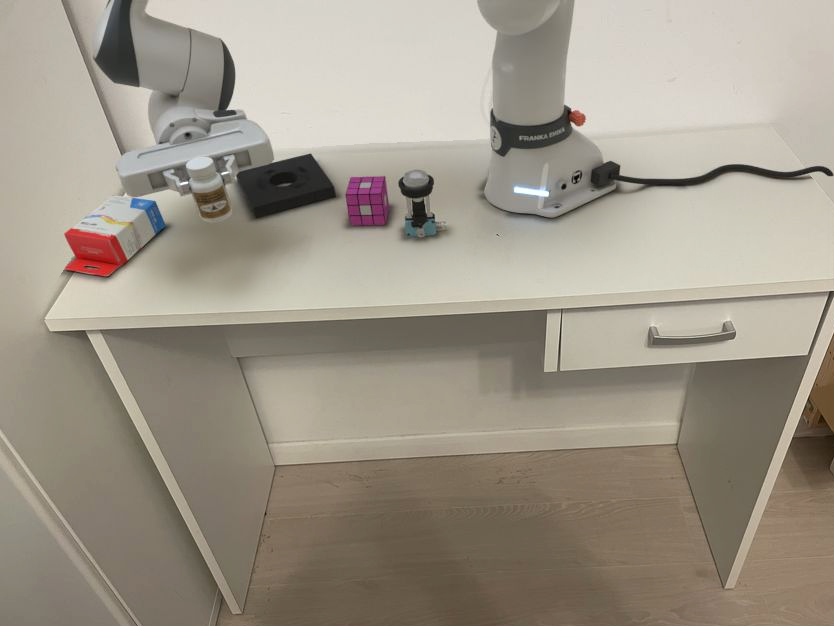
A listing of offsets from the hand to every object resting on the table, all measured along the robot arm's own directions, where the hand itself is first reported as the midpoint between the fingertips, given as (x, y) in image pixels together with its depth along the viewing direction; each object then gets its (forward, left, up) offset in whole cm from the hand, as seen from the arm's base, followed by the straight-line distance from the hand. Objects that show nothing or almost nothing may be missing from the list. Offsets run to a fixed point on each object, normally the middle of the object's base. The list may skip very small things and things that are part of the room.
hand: (207, 184), depth 90 cm
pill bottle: (0, -1, -5) cm, 5 cm away
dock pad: (-13, -24, -16) cm, 32 cm away
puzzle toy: (-23, -8, -16) cm, 29 cm away
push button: (-29, +1, -16) cm, 33 cm away
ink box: (+10, -25, -14) cm, 30 cm away
